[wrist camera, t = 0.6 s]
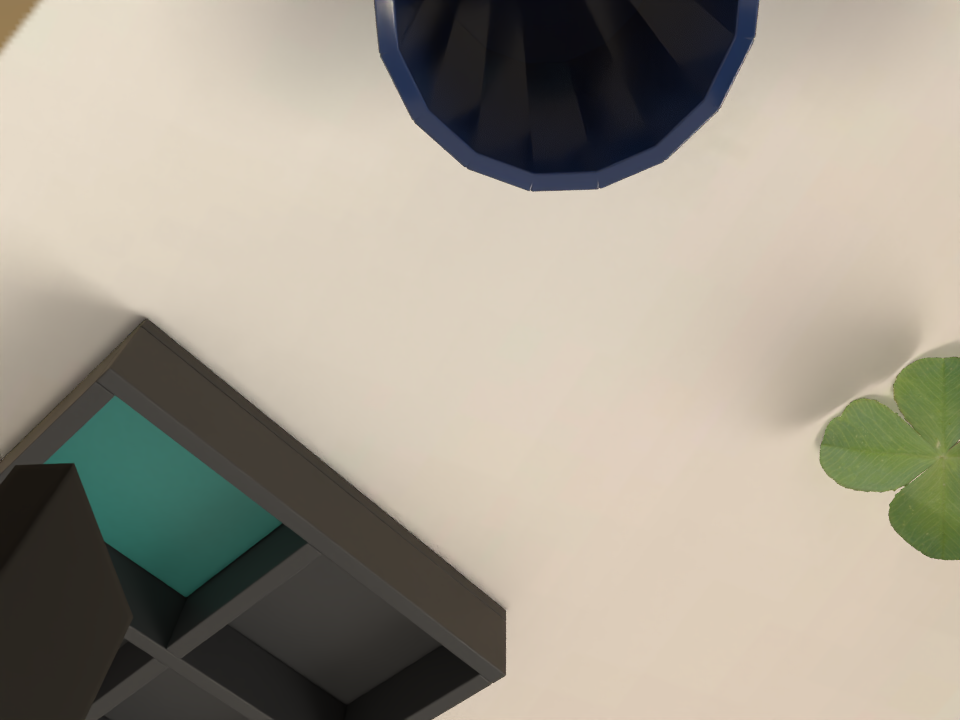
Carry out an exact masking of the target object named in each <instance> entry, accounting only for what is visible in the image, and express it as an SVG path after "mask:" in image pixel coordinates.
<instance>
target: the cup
mask: <svg viewBox="0 0 960 720" xmlns="http://www.w3.org/2000/svg"><path fill="white" fill-rule="evenodd" d="M374 8H375V18H376V28H377V38H378V48H379V53H380V57H381V59H382V61H383V63H384V65H385V67H386V69H387V71H388V73H389V75H390V77H391V79H392V81H393V83H394V85H395V87H396V89H397V91H398V93H399V95H400V97H401V99H402V101H403V103H404V105H405V107H406V109H407V111H408V113H409V115H410V116H411V118H412V120H414V122H415V124H417V125H418V126H419V127H420V128H421V129H422V130H423V131H424V132H426V133H427V134H428V135H429V136H430V137H431V138H432V139H433V140H435V141H436V142H437V143H438V144H439V145H440V146H441V147H442V148H444V149H445V150H446V151H447V152H448V153H449V154H450V155H451V156H452V157H454V158H455V159H456V160H457V161H458V162H459V163H460V164H461V165H463V166H464V167H467V169H469V170H472V171H475V172H477V173H480V174H483V175H486V176H488V177H491V178H494V179H497V180H500V181H502V182H505V183H508V184H511V185H513V186H516V187H519V188H522V189H525V190H527V191H530V190H531V191H533V192H534V191H563V190H593V189H599V188H603V187H606V186H608V185H611V184H613V183H615V182H618V181H620V180H622V179H625V178H627V177H629V176H632V175H634V174H636V173H639V172H641V171H643V170H646V169H648V168H651V167H653V166H655V165H658V164H660V163H662V162H664V160H667V159H668V158H669V157H670V156H671V155H672V154H673V153H674V152H675V151H676V150H678V149H679V148H680V147H681V146H682V145H683V144H684V143H685V142H686V141H687V140H688V139H689V138H690V137H691V136H692V135H693V134H694V133H696V132H697V131H698V130H699V129H700V128H701V127H702V126H703V125H704V124H705V123H706V122H707V121H708V120H709V119H710V118H711V117H712V116H714V115H715V114H716V113H717V112H718V110H719V109H720V108H721V106H722V104H723V102H724V100H725V98H726V96H727V94H728V92H729V90H730V88H731V86H732V84H733V82H734V80H735V78H736V76H737V74H738V72H739V70H740V68H741V66H742V64H743V62H744V60H745V58H746V56H747V54H748V52H749V50H750V48H751V46H752V44H753V42H754V39H753V38H755V36H756V27H757V17H758V8H759V0H374Z"/></svg>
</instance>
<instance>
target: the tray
mask: <svg viewBox="0 0 960 720" xmlns="http://www.w3.org/2000/svg"><path fill="white" fill-rule="evenodd" d="M58 463H74V464H75V466H76V469H77V472H78V474H79V477H80V479H81V482H82V485H83V487H84V490H85V492H86V495H87V498H88V500H89V503H90V505H91V508H92V511H93V513H94V516H95V519H96V521H97V524H98V526H99V529H100V532H101V534H102V537H103V539H104V542H105V545H106V547H107V550H108V552H109V555H110V558H111V560H112V563H113V565H114V568H115V571H116V573H117V576H118V579H119V581H120V584H121V586H122V589H123V592H124V594H125V597H126V599H127V602H128V605H129V607H130V610H131V612H132V615H133V619H132V621H131V624H130V626H129V628H128V630H127V632H126V634H125V636H124V638H123V640H122V643H121V645H120V647H119V649H118V651H117V653H116V655H115V657H114V659H113V662H112V664H111V666H110V668H109V670H108V672H107V674H106V676H105V678H104V681H103V683H102V685H101V687H100V689H99V691H98V693H97V695H96V697H95V700H94V702H93V704H92V706H91V708H90V710H89V712H88V714H87V716H86V719H85V720H432V719H434V718H435V717H437V716H439V715H440V714H442V713H444V712H446V711H447V710H449V709H451V708H452V707H454V706H456V705H457V704H459V703H461V702H462V701H464V700H466V699H467V698H469V697H471V696H472V695H474V694H476V693H477V692H479V691H481V690H482V689H484V688H486V687H487V686H489V685H491V684H492V683H494V682H496V681H497V680H499V679H501V678H502V677H504V676H505V675H506V611H505V610H504V609H503V608H502V607H500V606H499V605H498V604H497V603H495V602H494V601H493V600H492V599H491V598H489V597H488V596H487V595H486V594H484V593H483V592H482V591H481V590H479V589H478V588H477V587H476V586H475V585H473V584H472V583H471V582H470V581H468V580H467V579H466V578H465V577H464V576H462V575H461V574H460V573H459V572H457V571H456V570H455V569H454V568H452V567H451V566H450V565H449V564H448V563H446V562H445V561H444V560H443V559H441V558H440V557H439V556H438V555H436V554H435V553H434V552H433V551H432V550H430V549H429V548H428V547H427V546H425V545H424V544H423V543H422V542H421V541H419V540H418V539H417V538H416V537H414V536H413V535H412V534H411V533H409V532H408V531H407V530H406V529H405V528H403V527H402V526H401V525H400V524H398V523H397V522H396V521H395V520H393V519H392V518H391V517H390V516H389V515H387V514H386V513H385V512H384V511H382V510H381V509H380V508H379V507H378V506H376V505H375V504H374V503H373V502H371V501H370V500H369V499H368V498H366V497H365V496H364V495H363V494H362V493H360V492H359V491H358V490H357V489H355V488H354V487H353V486H352V485H350V484H349V483H348V482H347V481H346V480H344V479H343V478H342V477H341V476H339V475H338V474H337V473H336V472H335V471H333V470H332V469H331V468H330V467H328V466H327V465H326V464H325V463H323V462H322V461H321V460H320V459H319V458H317V457H316V456H315V455H314V454H312V453H311V452H310V451H309V450H307V449H306V448H305V447H304V446H303V445H301V444H300V443H299V442H298V441H296V440H295V439H294V438H293V437H292V436H290V435H289V434H288V433H287V432H285V431H284V430H283V429H282V428H280V427H279V426H278V425H277V424H276V423H274V422H273V421H272V420H271V419H269V418H268V417H267V416H266V415H264V414H263V413H262V412H261V411H260V410H258V409H257V408H256V407H255V406H253V405H252V404H251V403H250V402H249V401H247V400H246V399H245V398H244V397H242V396H241V395H240V394H239V393H237V392H236V391H235V390H234V389H233V388H231V387H230V386H229V385H228V384H226V383H225V382H224V381H223V380H221V379H220V378H219V377H218V376H217V375H215V374H214V373H213V372H212V371H210V370H209V369H208V368H207V367H206V366H204V365H203V364H202V363H201V362H199V361H198V360H197V359H196V358H194V357H193V356H192V355H191V354H190V353H188V352H187V351H186V350H185V349H183V348H182V347H181V346H180V345H178V344H177V343H176V342H175V341H174V340H172V339H171V338H170V337H169V336H167V335H166V334H165V333H164V332H163V331H161V330H160V329H159V328H158V327H156V326H155V325H154V324H153V323H151V322H150V321H149V320H148V319H145V320H144V321H143V322H142V323H141V324H140V325H139V326H138V327H137V328H136V329H135V330H134V331H133V332H132V333H131V334H130V335H129V336H128V337H127V338H126V339H125V340H124V341H123V342H122V343H121V344H120V345H119V346H118V347H117V348H116V349H115V350H114V351H112V352H111V353H110V354H109V355H108V356H107V357H106V358H105V359H104V360H103V361H102V362H101V363H100V364H99V365H98V366H97V367H96V368H95V369H94V370H93V371H92V372H91V373H90V374H89V375H88V376H87V377H86V378H85V379H84V380H83V381H82V382H81V383H80V384H79V385H78V386H77V387H76V388H75V389H74V390H73V391H72V392H71V393H70V394H69V395H68V396H67V397H66V398H65V399H64V400H63V401H62V402H61V403H60V404H58V405H57V406H56V407H55V408H54V409H53V410H52V411H51V412H50V413H49V414H48V415H47V416H46V417H45V418H44V419H43V420H42V421H41V422H40V423H39V424H38V425H37V426H36V427H35V428H34V429H33V430H32V431H31V432H30V433H29V434H28V435H27V436H26V437H25V438H24V439H23V440H22V441H21V442H20V443H19V444H18V445H17V446H16V447H15V448H14V449H13V450H12V451H11V452H10V453H9V454H8V455H7V456H6V457H5V458H3V459H2V460H1V461H0V484H1V483H2V482H3V481H4V479H5V478H6V477H7V475H8V474H9V473H10V471H11V470H12V469H13V468H14V466H15V465H32V464H58Z"/></svg>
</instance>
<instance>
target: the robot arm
mask: <svg viewBox="0 0 960 720" xmlns="http://www.w3.org/2000/svg"><path fill="white" fill-rule="evenodd" d="M132 619H133V615H132V612H131V610H130V607H129V605H128V602H127V599H126V597H125V594H124V592H123V589H122V586H121V584H120V581H119V579H118V576H117V573H116V571H115V568H114V565H113V563H112V560H111V558H110V555H109V552H108V550H107V547H106V545H105V542H104V539H103V537H102V534H101V532H100V529H99V526H98V524H97V521H96V519H95V516H94V513H93V511H92V508H91V505H90V503H89V500H88V498H87V495H86V492H85V490H84V487H83V485H82V482H81V479H80V477H79V474H78V472H77V469H76V466H75V464H74V463H58V464H32V465H15V466H14V468H13V469H12V470H11V471H10V473H9V474H8V475H7V477H6V478H5V479H4V481H3V482H2V483H1V484H0V720H85V719H86V716H87V714H88V712H89V710H90V708H91V706H92V704H93V702H94V700H95V697H96V695H97V693H98V691H99V689H100V687H101V685H102V683H103V681H104V678H105V676H106V674H107V672H108V670H109V668H110V666H111V664H112V662H113V659H114V657H115V655H116V653H117V651H118V649H119V647H120V645H121V643H122V640H123V638H124V636H125V634H126V632H127V630H128V628H129V626H130V624H131V621H132Z"/></svg>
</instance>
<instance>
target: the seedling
mask: <svg viewBox="0 0 960 720" xmlns="http://www.w3.org/2000/svg"><path fill="white" fill-rule="evenodd" d="M893 388H894V389H893V391H894V400H895V401H896V403H897V405H898V407H899V410H900V412H901V413H902V414H903V415H904V417H905V418H904V419H905V420H906V421H907V422H909V423H910V424H911V425H912V427H913V428H914V429H913V428H912V427H911V426H910V425H909V424H907V423H906V422H905V421H904V420H903V419H902V418H901V417H900V416H898V413H894V412H893V411H892V410H890V409H889V408H888V407H886V406H885V405H883V404H881V403H879V402H878V401H877V400H870V399H865V398H864V399H859V400H855V401H853V402H851V403H850V405H848V406H847V407H846V409H845V410H844V412H843V413H842V415H841V417H836V418H834V419H833V420H832V421H830V423H829V425H828V426H827V429H826V430H825V435H824V438H823V441H822V443H821V447H820V449H821V450H820V464H821V466H822V468H823V469H824V471H825V472H826V474H827V475H828V476H829V477H830V478H833V480H835V481H836V482H837V484H839V485H841V486H843V487H845V488H849V489H853V490H856V491H865V492H870V491H873V492H885V491H889V490H893V491H895V490H896V489H898V488H900V487H902V486H905V488H903V489H901V491H900V492H899V493H897V494H895V498H894V499H893V500H892V502H891V503H890V504H889V506H890V509H889V514H888V516H889V521H890V523H891V526H892V527H893V528H894V530H895V531H896V532H897V533H898V534H899V535H900V536H901V537H902V538H903V539H904V540H905V541H906V542H908V543H909V544H910V545H911V546H913V547H914V548H915V549H916V550H918V551H921V553H922V554H924V555H926V556H928V557H930V558H935V559H942V560H960V441H959V442H958V440H959V439H960V358H958V357H950V358H943V359H942V358H937V357H936V358H924V359H919V360H917V361H915V362H913V363H912V364H910V365H908V366H907V367H906V368H905V369H903V370H902V371H901V373H899V375H898V376H897V380H896V381H895V383H894V384H893ZM957 442H958V443H957ZM956 443H957V444H956ZM925 470H926V471H925ZM924 471H925V472H924ZM922 472H924V473H922ZM921 473H922V474H921ZM920 474H921V475H920ZM918 475H920V476H919V477H917V476H918ZM916 477H917V478H916ZM915 478H916V479H915ZM913 479H915V480H914V481H912V480H913ZM911 481H912V482H911ZM910 482H911V483H910Z"/></svg>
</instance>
